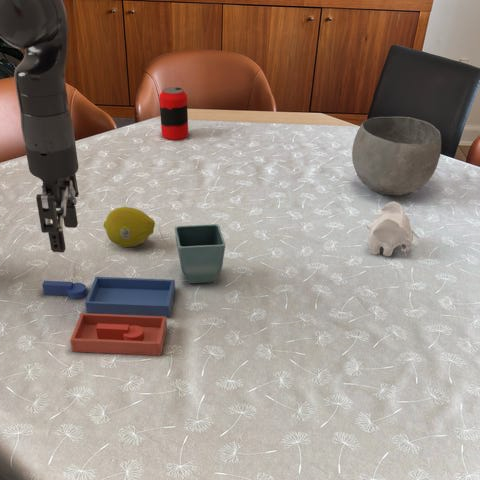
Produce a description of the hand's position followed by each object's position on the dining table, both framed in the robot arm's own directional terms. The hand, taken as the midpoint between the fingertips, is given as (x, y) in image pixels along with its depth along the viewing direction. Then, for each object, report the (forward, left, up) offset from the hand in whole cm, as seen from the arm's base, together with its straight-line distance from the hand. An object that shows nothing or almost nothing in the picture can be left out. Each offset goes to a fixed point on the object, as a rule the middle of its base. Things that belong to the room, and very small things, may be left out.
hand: (65, 238), depth 110 cm
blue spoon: (-4, +6, -15) cm, 16 cm away
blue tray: (+9, +4, -15) cm, 18 cm away
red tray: (+9, -8, -15) cm, 19 cm away
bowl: (+64, +59, -15) cm, 88 cm away
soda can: (+7, +91, -15) cm, 92 cm away
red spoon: (+9, -8, -14) cm, 19 cm away
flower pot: (+21, +14, -15) cm, 29 cm away
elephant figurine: (+60, +28, -15) cm, 68 cm away
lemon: (+5, +26, -15) cm, 30 cm away
